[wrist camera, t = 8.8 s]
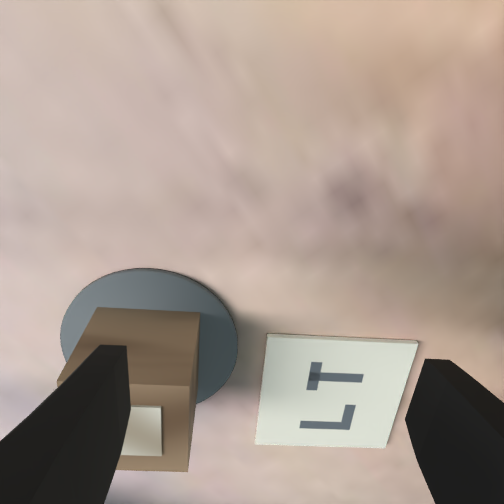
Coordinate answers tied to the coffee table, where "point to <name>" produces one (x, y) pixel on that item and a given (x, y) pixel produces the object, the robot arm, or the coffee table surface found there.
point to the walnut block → (151, 381)
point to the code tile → (331, 390)
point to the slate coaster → (161, 298)
